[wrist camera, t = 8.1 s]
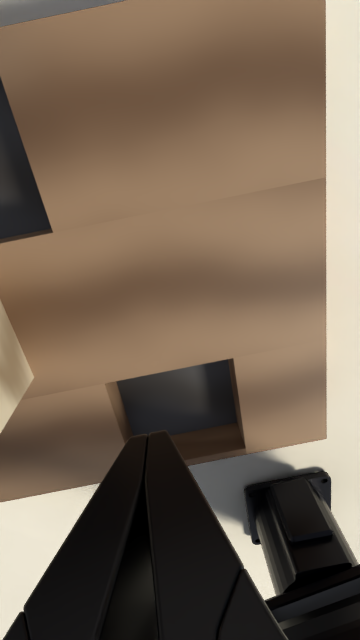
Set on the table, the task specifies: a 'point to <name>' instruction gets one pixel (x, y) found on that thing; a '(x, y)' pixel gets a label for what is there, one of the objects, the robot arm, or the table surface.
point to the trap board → (163, 232)
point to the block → (11, 370)
